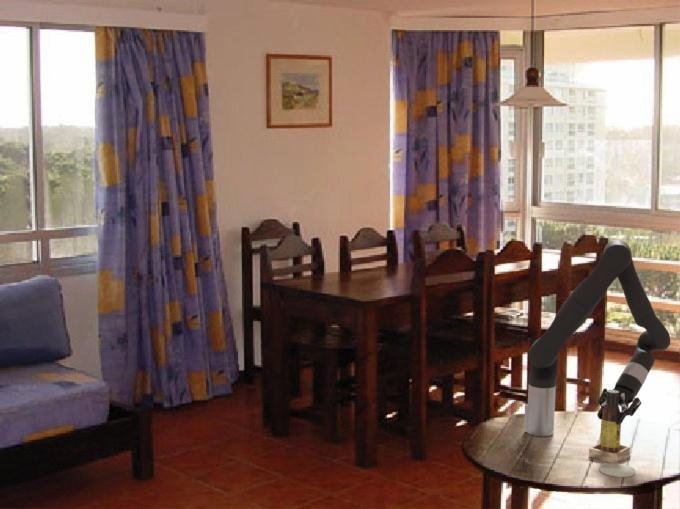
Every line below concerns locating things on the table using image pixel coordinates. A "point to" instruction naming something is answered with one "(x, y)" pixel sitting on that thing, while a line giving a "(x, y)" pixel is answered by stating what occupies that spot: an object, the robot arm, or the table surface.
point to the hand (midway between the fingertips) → (608, 420)
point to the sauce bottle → (610, 423)
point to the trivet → (617, 470)
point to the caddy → (607, 456)
